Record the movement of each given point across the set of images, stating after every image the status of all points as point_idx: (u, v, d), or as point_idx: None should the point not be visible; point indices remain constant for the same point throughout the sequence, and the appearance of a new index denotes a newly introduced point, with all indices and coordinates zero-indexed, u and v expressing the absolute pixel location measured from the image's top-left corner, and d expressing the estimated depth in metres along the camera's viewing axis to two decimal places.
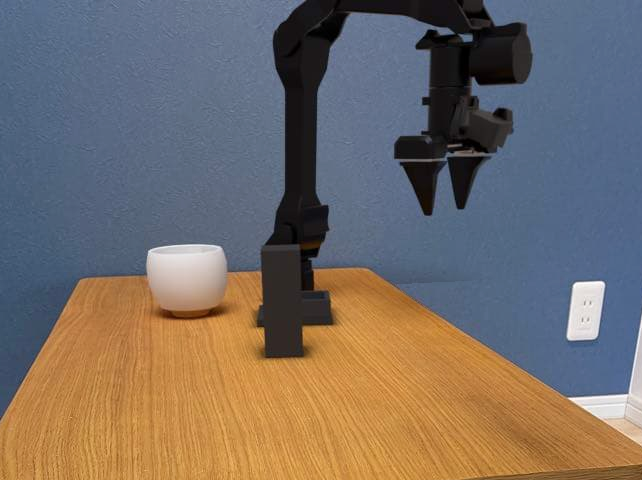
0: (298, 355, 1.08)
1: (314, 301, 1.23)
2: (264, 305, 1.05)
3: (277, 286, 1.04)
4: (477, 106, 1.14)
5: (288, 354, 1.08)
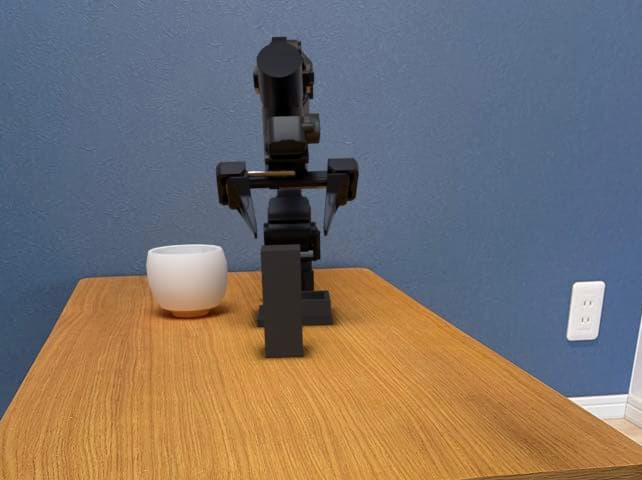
0: (298, 355, 1.08)
1: (314, 301, 1.23)
2: (264, 305, 1.05)
3: (277, 286, 1.04)
4: None
5: (288, 354, 1.08)
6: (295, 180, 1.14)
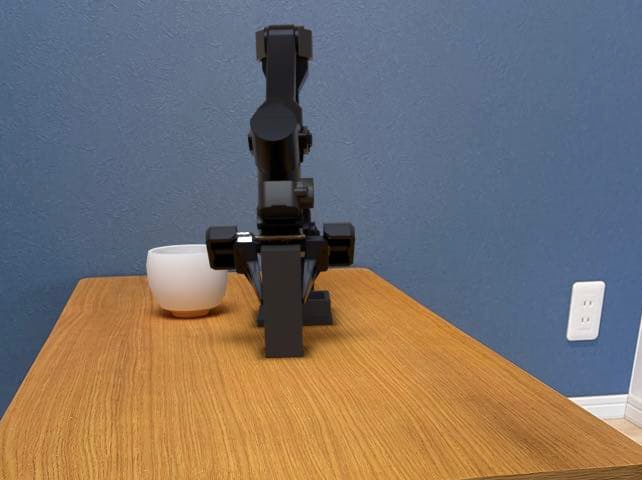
0: (298, 355, 1.08)
1: (314, 301, 1.23)
2: (264, 305, 1.05)
3: (277, 286, 1.04)
4: None
5: (288, 354, 1.08)
6: None
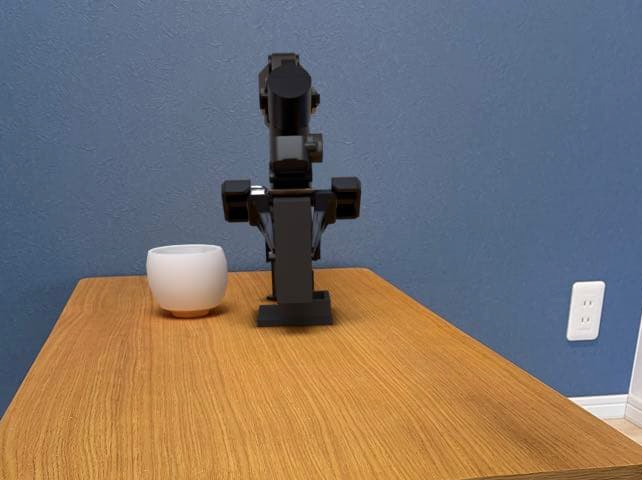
0: (308, 301, 1.16)
1: (314, 301, 1.23)
2: (276, 253, 1.13)
3: (288, 236, 1.12)
4: None
5: (298, 301, 1.16)
6: None
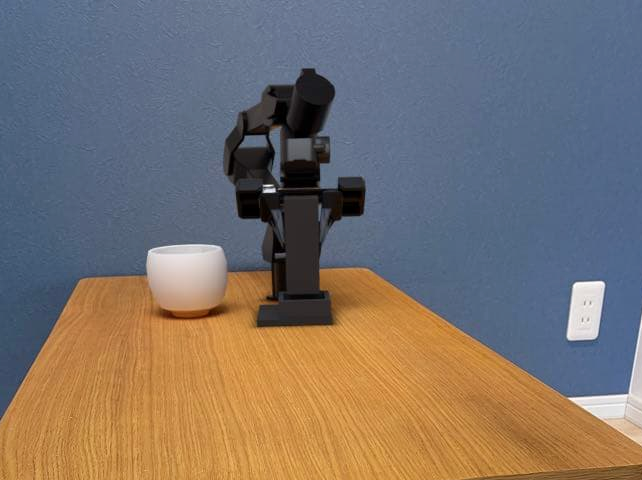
0: (315, 292, 1.24)
1: (314, 301, 1.23)
2: (286, 247, 1.21)
3: (298, 231, 1.20)
4: None
5: (306, 292, 1.24)
6: None
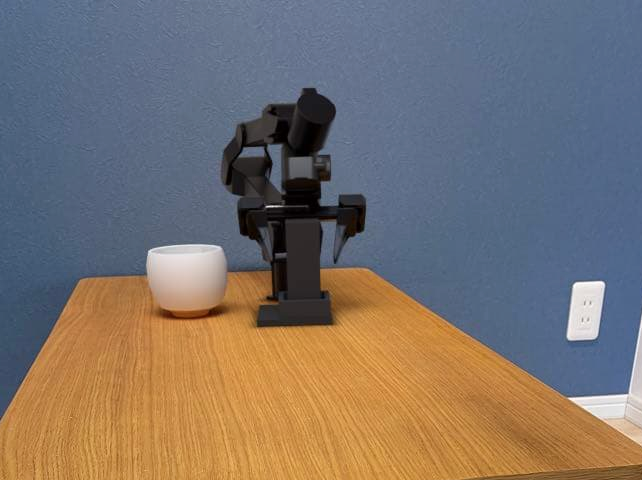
0: None
1: (314, 301, 1.23)
2: (288, 270, 1.23)
3: (299, 254, 1.22)
4: None
5: None
6: (309, 214, 1.25)
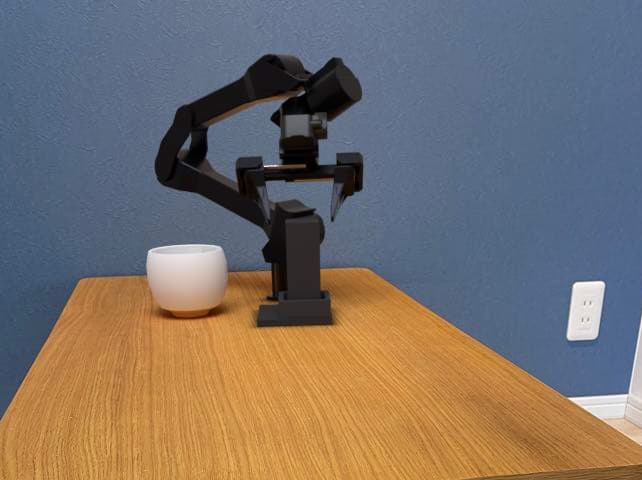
0: None
1: (314, 301, 1.23)
2: (288, 270, 1.23)
3: (299, 254, 1.22)
4: None
5: None
6: (307, 173, 1.26)
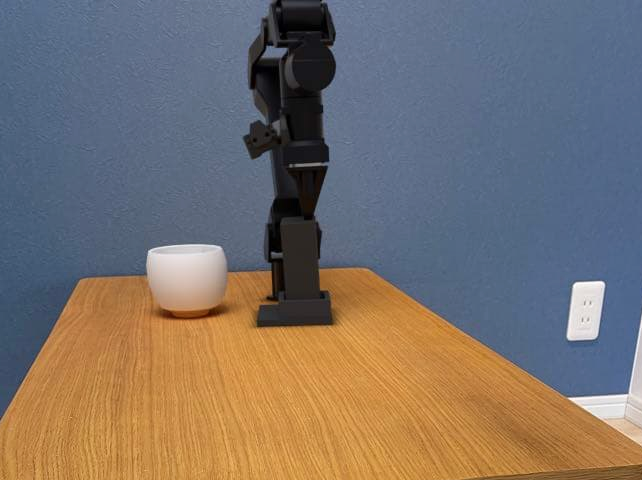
0: None
1: (314, 301, 1.23)
2: (285, 271, 1.22)
3: (295, 255, 1.21)
4: (279, 117, 1.17)
5: None
6: None
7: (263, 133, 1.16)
